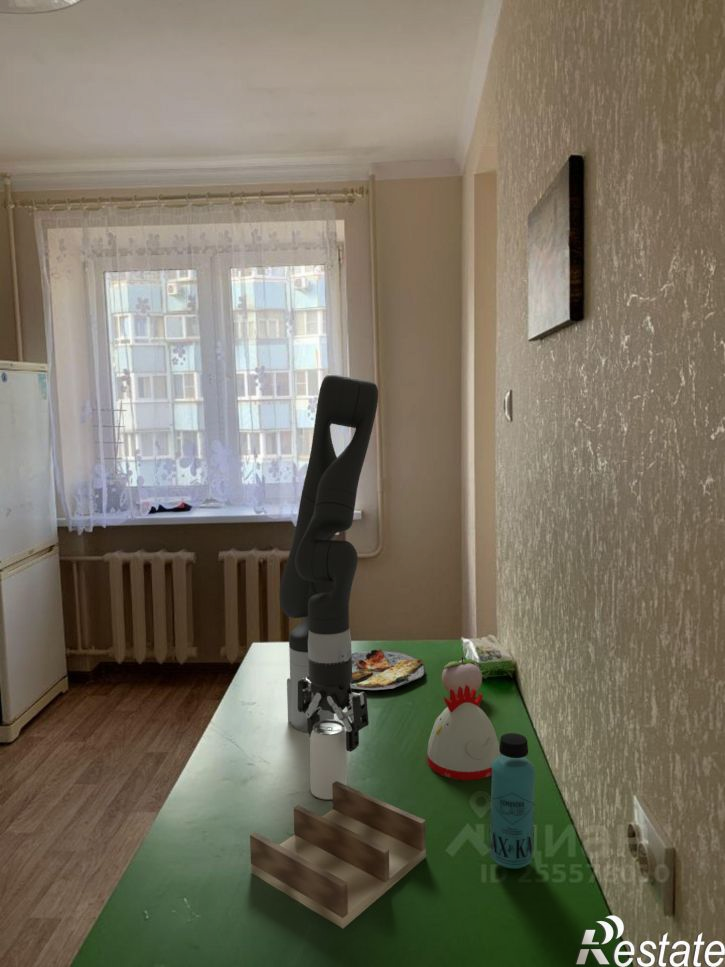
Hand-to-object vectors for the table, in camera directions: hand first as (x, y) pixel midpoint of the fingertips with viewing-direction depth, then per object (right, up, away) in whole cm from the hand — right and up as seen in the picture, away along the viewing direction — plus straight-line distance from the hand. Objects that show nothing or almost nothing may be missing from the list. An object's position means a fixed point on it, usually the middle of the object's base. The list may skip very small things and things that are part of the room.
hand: (333, 743), depth 128 cm
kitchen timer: (+24, -8, +11) cm, 28 cm away
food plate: (+8, -3, +54) cm, 55 cm away
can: (-1, -9, +1) cm, 9 cm away
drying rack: (+2, -11, -19) cm, 22 cm away
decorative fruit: (+28, -4, +39) cm, 48 cm away
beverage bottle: (+27, -11, -20) cm, 35 cm away
